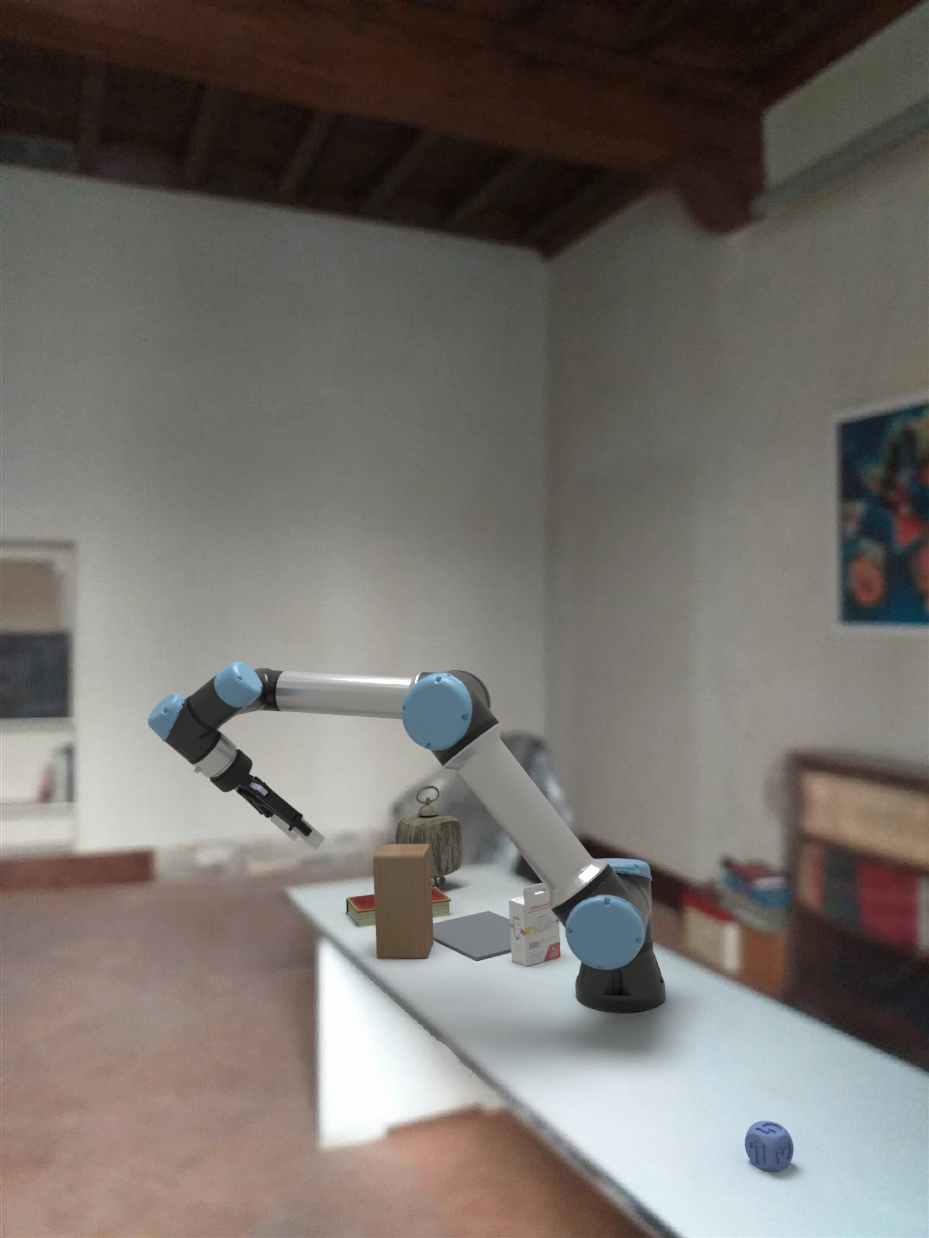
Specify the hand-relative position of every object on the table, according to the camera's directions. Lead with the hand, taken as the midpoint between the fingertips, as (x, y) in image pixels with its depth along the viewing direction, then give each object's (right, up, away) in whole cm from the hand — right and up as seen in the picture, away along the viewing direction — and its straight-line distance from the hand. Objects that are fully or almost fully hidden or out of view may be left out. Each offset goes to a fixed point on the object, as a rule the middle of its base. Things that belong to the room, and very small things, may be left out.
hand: (308, 839), depth 190 cm
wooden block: (+17, -24, +11) cm, 32 cm away
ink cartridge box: (+43, -23, +3) cm, 49 cm away
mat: (+33, -24, +18) cm, 44 cm away
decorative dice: (+65, -23, -71) cm, 99 cm away
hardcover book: (+14, -25, +36) cm, 46 cm away
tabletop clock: (+21, -24, +55) cm, 64 cm away
